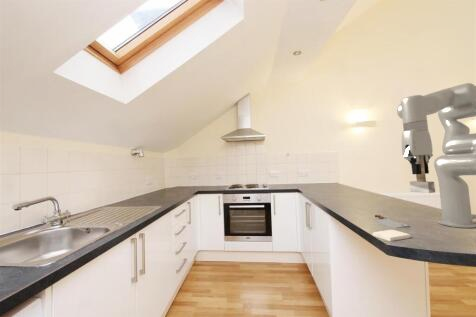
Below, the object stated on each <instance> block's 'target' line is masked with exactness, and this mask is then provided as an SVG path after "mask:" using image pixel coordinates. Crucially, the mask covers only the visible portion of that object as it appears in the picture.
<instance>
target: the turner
mask: <svg viewBox="0 0 476 317" xmlns="http://www.w3.org/2000/svg"><path fill="white" fill-rule="evenodd" d="M414 159H415V158H414ZM419 164H421V172H422V174H415V176H416V180H413V181H409V186H410V192H413V193H423V194H424V193H425V194H434V193H436V185H435V181H427V177H426V174H425V167H424V159H423V155H422V156H419Z"/></svg>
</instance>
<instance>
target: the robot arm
mask: <svg viewBox="0 0 476 317" xmlns="http://www.w3.org/2000/svg"><path fill="white" fill-rule="evenodd" d="M396 113H397V116H398V117H399V118H400V119H401V120H402V125H403V132H402V135H401V153H402V156H403V158H404V159H405V160H407V161H408V162H409V164H410V165H411V174H412V175H416V174H422V172H421V164H419V156H422V155H423V159H424V167H425V175H427V174H430V170H429V163H430V159H431V158H432V157H433V156H434V153H433V152H434V151H433V144H432V138H431V135H430V131H429V125H428V116H429V115H430V116H431V115H433V114H436V113H437V116H438V120H439V121H440V123H441V126H442V127H443V129H444V135H443V140H442V145H441V146H442V147H441V149H442V153H443V155H439V156H438V157H436V158H435V159H434V162H433V167H434V169H435V172H436V176H437V180H438V187H439V199H440V207H441V216H442V219H438V223H439V224H440V225H442V226H447V227H453V228H461V229H462V228H463V229H465V228H467V229H471V228H473V229H474V228H476V221H473V220H476V214H474V213H473V214H472V207H471V198H470V192H469V191H470V190H469V185H468V183H467V182H466V181H465V180H464V178H462V177H461V176H476V133H470V131H471V130H470V128H469V127H468V126H467V125H466V124H465V123H463V122H461V121H459V120H462V119H468V118H474V117H476V85H475V84H473V83H470V82H466V83H463V84H459V85H455V86H451V87H447V88H443V89H440V90H437V91H435V92H431V93H428V94H425V95H421V94H415V95H414V94H413V95H410V96H406V97H404V98H402V100H400V104H398V106H397V108H396ZM414 158H415V159H414Z"/></svg>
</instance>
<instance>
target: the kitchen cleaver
mask: <svg viewBox="0 0 476 317" xmlns="http://www.w3.org/2000/svg"><path fill="white" fill-rule="evenodd" d="M374 217H375V218H377V217H378V219H377V220H374V222H376V223H378V224H381V225H383V226H387V227H389V228H392V229H394V228H395V229H397V228H399V229H400V228H409V224H406V223H402V222H397V221H395V220H392V219H390V218H387V217H384V216H382V215H380V214H375V215H374Z"/></svg>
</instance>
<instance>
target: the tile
mask: <svg viewBox="0 0 476 317" xmlns="http://www.w3.org/2000/svg"><path fill="white" fill-rule="evenodd" d="M372 236H373V237H377V238H380V239H383V240H385V241H389V242H394V241H399V240H406V239H410V238H412V237H411V236H412V235H411V234H410V233H408V232H407V233H406V232H402V231H399V230H395V229H393V228H392V229H391V228H390V229H387V230H386V229H385V230H379V231H372Z"/></svg>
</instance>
